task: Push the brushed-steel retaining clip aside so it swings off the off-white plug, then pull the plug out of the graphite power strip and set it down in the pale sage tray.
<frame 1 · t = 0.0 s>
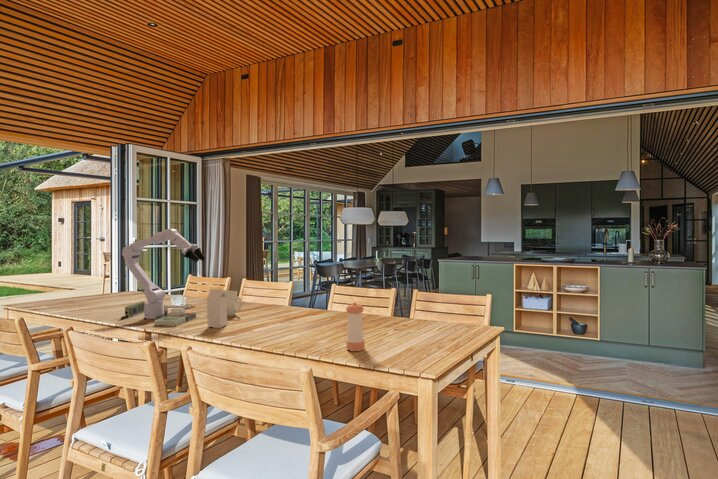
hand: (201, 260, 256), 32 cm above the table, tool tilted 50°, fingers open, 7 cm apart
tray: (170, 324, 244), on the table
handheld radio: (133, 316, 269), on the table
milk carton: (217, 326, 236), on the table
pepper shaker: (355, 349, 188), on the table
plug: (178, 319, 255), on the table
pitcher: (230, 315, 264), on the table
clip: (177, 309, 255), point 5 cm above the table, hinge at 0.0°
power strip: (176, 319, 255), on the table
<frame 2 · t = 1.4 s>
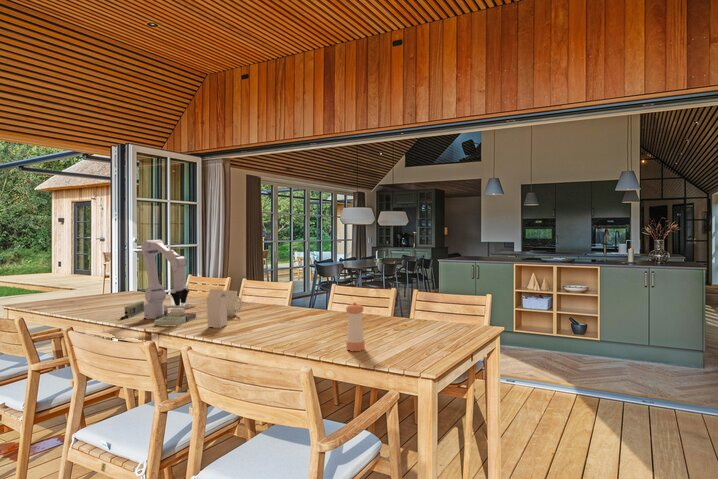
hand: (180, 304, 248), 9 cm above the table, tool pointing down, fingers open, 6 cm apart
nothing on the table moved.
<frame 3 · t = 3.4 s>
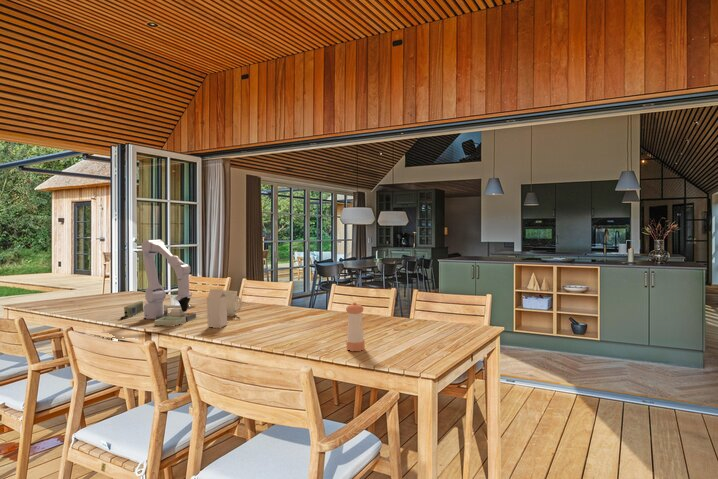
hand: (184, 311, 253), 5 cm above the table, tool pointing down, fingers closed
clip: (177, 309, 255), point 5 cm above the table, hinge at 1.8°, touching gripper
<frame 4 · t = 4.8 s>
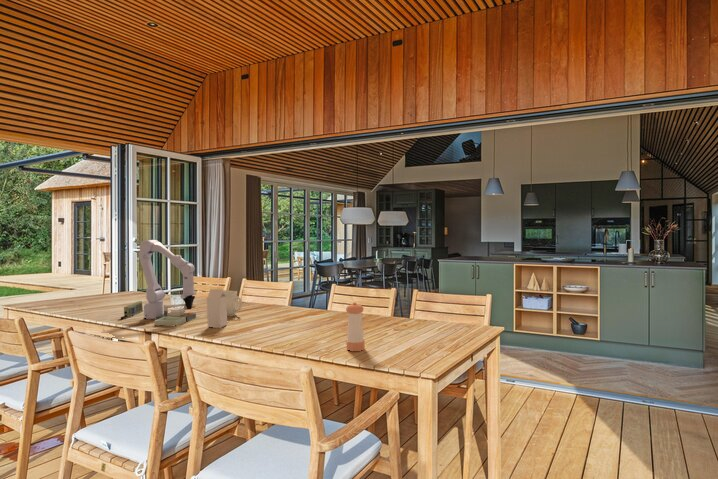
hand: (189, 309, 259), 5 cm above the table, tool pointing down, fingers closed
clip: (178, 308, 259), point 5 cm above the table, hinge at 36.0°, touching gripper
everything else where it was.
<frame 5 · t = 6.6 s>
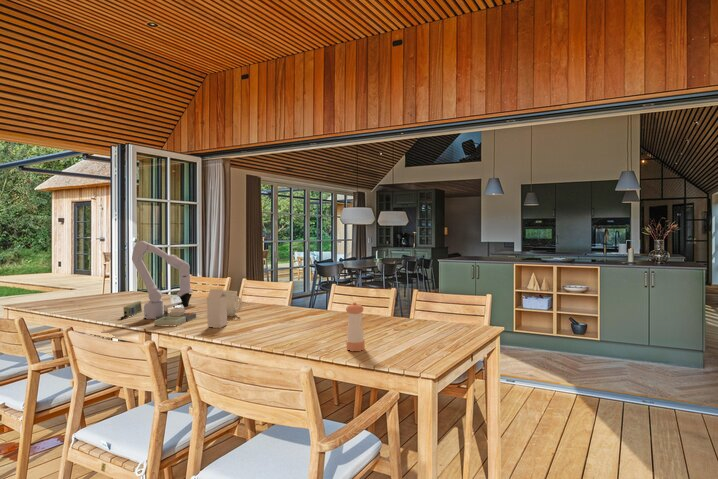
hand: (185, 306, 266), 5 cm above the table, tool pointing down, fingers closed
clip: (174, 307, 262), point 5 cm above the table, hinge at 74.7°
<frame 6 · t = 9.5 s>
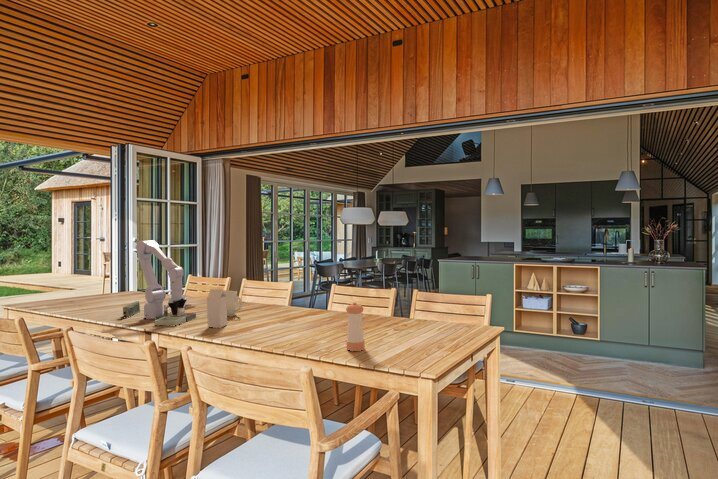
hand: (177, 313, 255), 3 cm above the table, tool pointing down, fingers closed on plug, 6 cm apart
plug: (178, 319, 255), on the table, touching gripper
when the fingers open (5 cm above the table, at t = 13.7 s): plug stays where it is, resting on tray.
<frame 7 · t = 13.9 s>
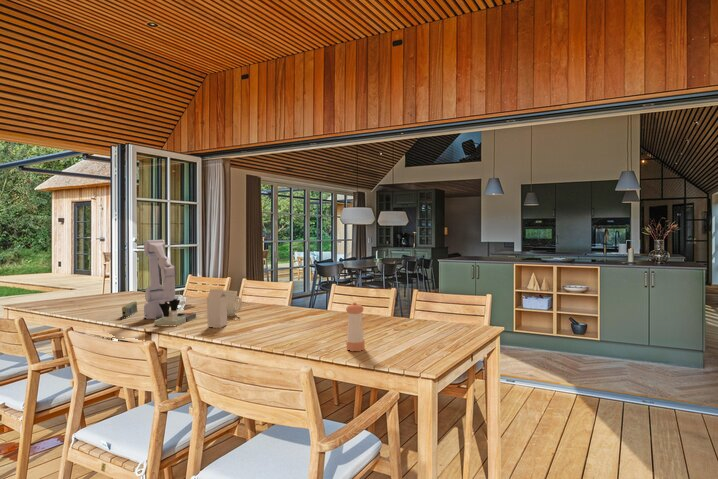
hand: (170, 315, 243), 5 cm above the table, tool pointing down, fingers open, 7 cm apart
plug: (170, 322, 244), point 1 cm above the table, touching tray
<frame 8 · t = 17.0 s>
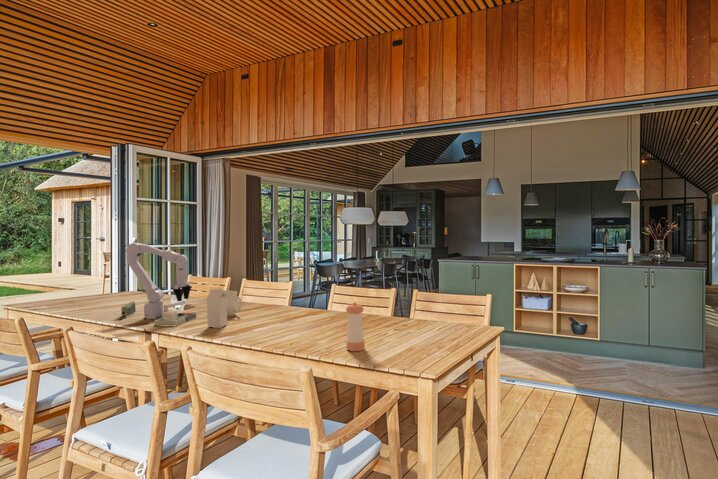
hand: (182, 299, 263), 9 cm above the table, tool pointing down, fingers open, 7 cm apart
at the end: clip at +75° (first picture: +0°); plug 0.1 cm off-centre on the tray, point 0.6 cm above the tray's base; plug tilted 0° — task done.
